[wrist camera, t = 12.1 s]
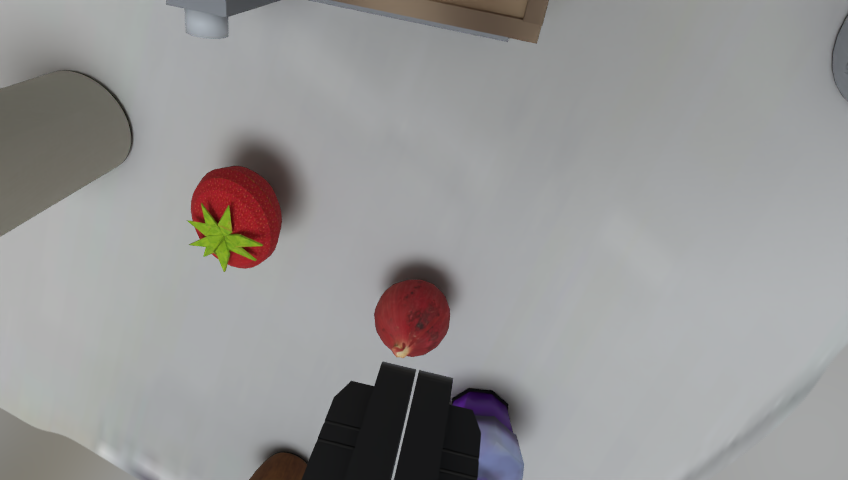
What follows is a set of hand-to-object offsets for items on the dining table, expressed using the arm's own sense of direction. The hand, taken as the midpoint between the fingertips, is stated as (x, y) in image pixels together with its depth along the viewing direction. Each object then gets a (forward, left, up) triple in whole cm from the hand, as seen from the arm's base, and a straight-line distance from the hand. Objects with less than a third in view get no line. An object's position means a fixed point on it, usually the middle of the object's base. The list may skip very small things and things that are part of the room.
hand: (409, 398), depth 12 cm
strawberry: (+19, -2, -29) cm, 35 cm away
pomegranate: (+14, +12, -29) cm, 35 cm away
